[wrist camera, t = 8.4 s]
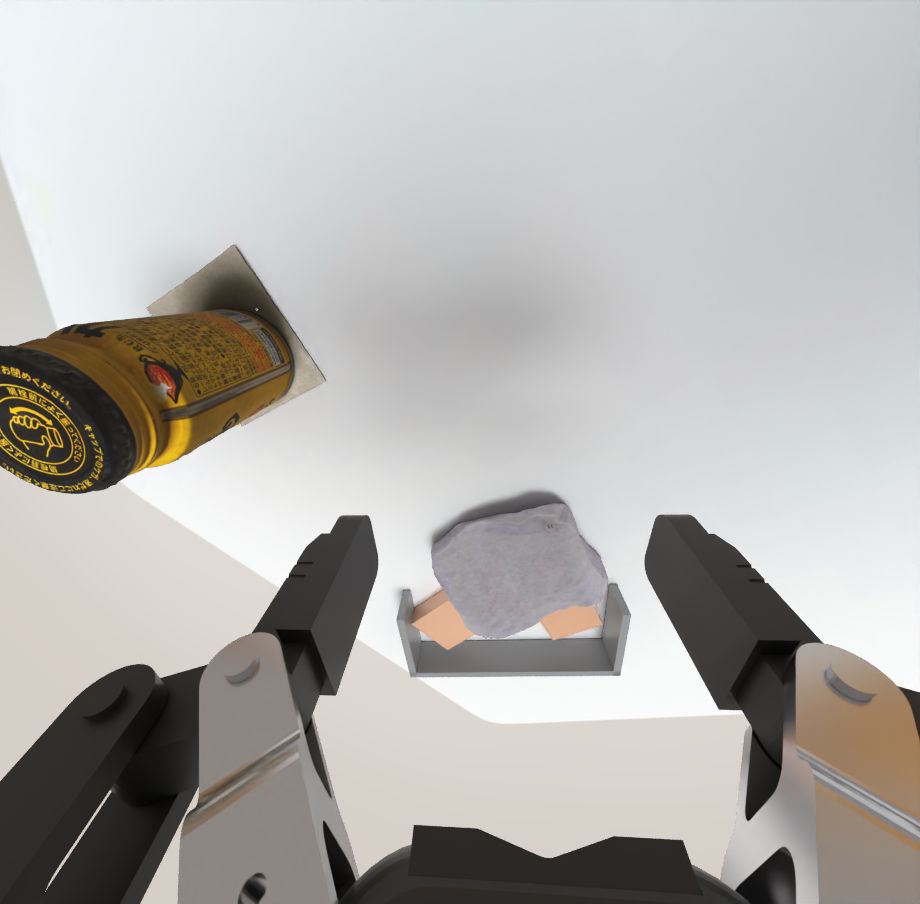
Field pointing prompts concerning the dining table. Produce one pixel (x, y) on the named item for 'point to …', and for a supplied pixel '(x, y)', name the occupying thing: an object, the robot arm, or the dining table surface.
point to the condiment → (148, 382)
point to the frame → (519, 650)
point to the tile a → (440, 621)
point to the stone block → (517, 569)
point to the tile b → (571, 621)
